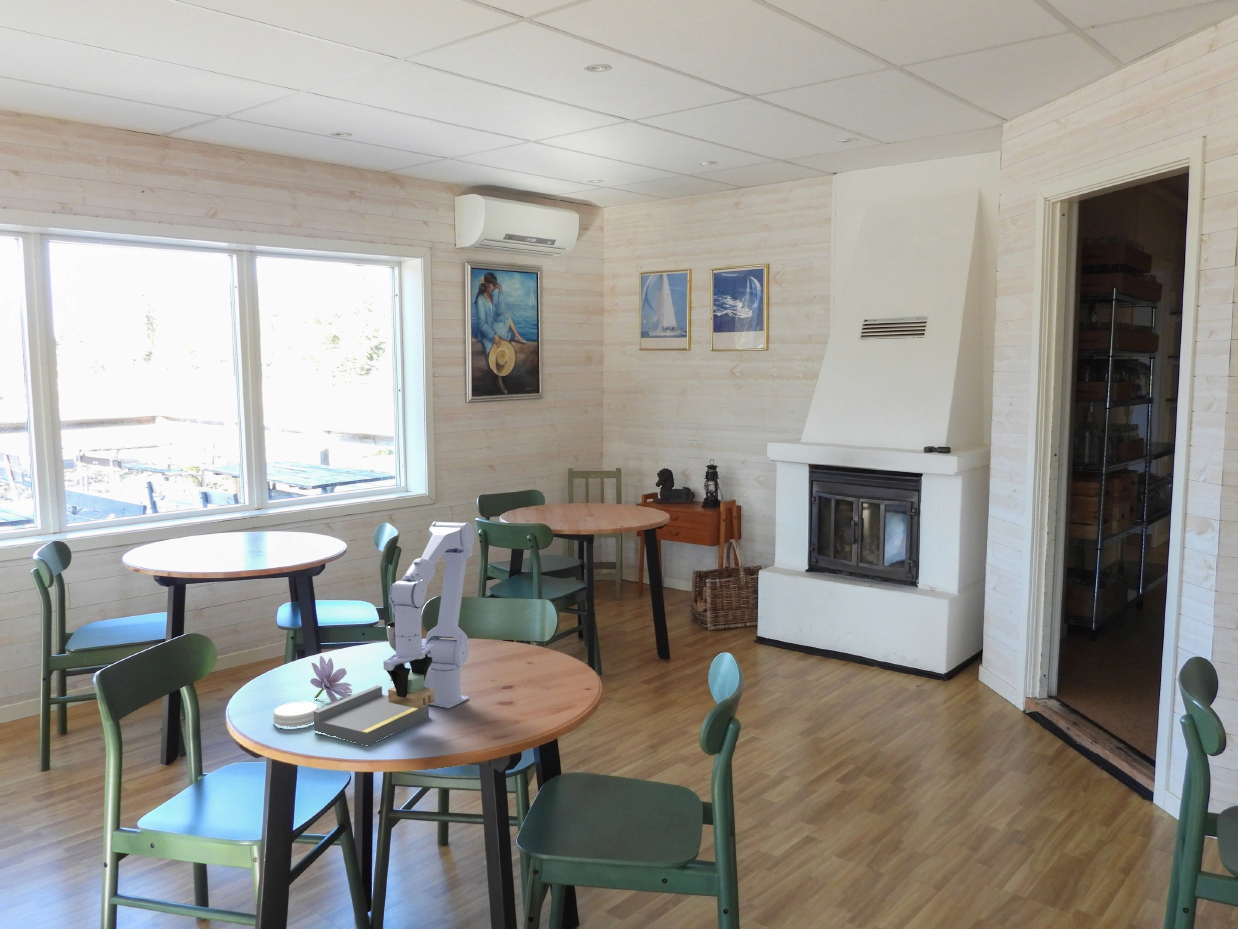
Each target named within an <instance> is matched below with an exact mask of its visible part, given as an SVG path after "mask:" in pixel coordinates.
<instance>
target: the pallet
mask: <svg viewBox="0 0 1238 929" xmlns="http://www.w3.org/2000/svg"><path fill="white" fill-rule="evenodd" d="M387 696H388V702H389V703H393V704H398V705H403V706H408V707H412V708H417V709H421V708H423V706H427V705H428V703H430V704H431V703H433V702H434V689H431V688H426V687H424V688H423V689H421V690H419V691H417V692H414V693H408V692H407V696H406V697H405V698H403V697H398V696H397V692H396V689H395V686H393V687H390V688H388V689H387ZM430 704H429V705H430Z"/></svg>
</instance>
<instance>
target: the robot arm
mask: <svg viewBox="0 0 1238 929" xmlns="http://www.w3.org/2000/svg"><path fill="white" fill-rule="evenodd" d="M475 537H476V536H475V531H474V527H473V525H472V524H471V523H470V522H469V521H468V522H455V521H454V522H451V521H450V522H446V521H437V520H435V521H433V522H432V523H431V525H430V526H429V529H428V543H427V545H426V547H425V548H424V551H423V553H422V555H421V556H420V558H418V557H417V558H416V559H414V560H413V561H412V562H411V564H410V566H409V567H408V569H407V570H406V572H405V573H404V574H403V576H402V577H401V579H400V580H397V581H395V582H393V583H392V585H391V586H390V590H389V594H388V601H389V604H390V605H391V612H392V614H393V615H394V621H395V635H396V652H395V653H393V654H392V655H391V656H390V657H389V658H387V659H385V660H383V670H385V671H386V673H387V674H388V676H389V677H390V679H392V681H393V683H392V684H393V685H394V686H393V687H395V689H396V692H397V696H398V697H403V698H405V697H406V696H407V682H408V676H409V673H415V674H421V675H424V687H426V688H431V689H434V702H433V703H431V704H430V703H428V704H429V706H436V707H440V708H445V709H451V708H453V707H455V706H457V705H459V704H461V703H462V702H463V703H464V702H466V701H468V700H469V699H470V696H468V695H462V675H461V674H462V669H461V668H462V667H463V666H464V665H465V663H466V662H467V659H468V655H469V647H468V646H469V645H468V638H469V637H468V635H467V634H466V632H465V631H464V630H462V628H460V627H459V620H460V615H461V614H460V613H461V608H462V607H461V606H462V597H463V591H464V590H463V589H464V582H465V574H466V566H467V560H468V559H470V558H471V557H472V556H473V552H474V546H475V545H474V544H475V539H476V538H475ZM441 558H443V559H444V561H445V566H444V574H443V581H442V589H441V598H440V604H439V611H438V612H439V613H438V618H437V619H438V620H437V625H435V627H433V628H431V629H430V630H429V631H428V632H427V634H426V638H425V641H424V643H423V639H422V637H423V636H422V635H423V634H422V606H423V605H424V603H425V599H426V595H427V592H428V585H429V583H430V582H431V581H432V579H433V577H434V576H435V575H436V567H435V565H437V563H438V561H439V560H440V559H441ZM422 643H423V644H422ZM407 663H409V665H410V667H406V664H407ZM404 664H405V666H404Z"/></svg>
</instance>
